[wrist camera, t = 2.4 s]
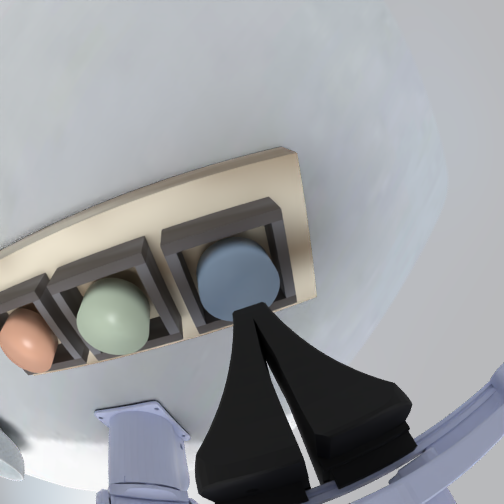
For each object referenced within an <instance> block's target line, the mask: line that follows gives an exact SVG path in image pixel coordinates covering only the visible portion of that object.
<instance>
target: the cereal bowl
mask: <svg viewBox="0 0 504 504" xmlns="http://www.w3.org/2000/svg"><path fill="white" fill-rule="evenodd" d="M0 477H3V478H6V479H10V480H13V481H23V479H24V460H23V457H22V454H21V452H20V451H19V449H18V447H17V446H16V445H15V443H14V442H13V441H12V440H11V439H10V438H9V437H8V436H7V435H6V434H5V433H4V432H3V430H2V429H1V428H0Z"/></svg>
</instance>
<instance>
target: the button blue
mask: <svg viewBox="0 0 504 504" xmlns="http://www.w3.org/2000/svg"><path fill="white" fill-rule="evenodd" d="M196 276H197V283H198V289H199V295H200V300H201V303H202V305H203V307H204V308H205V309H206V310H207V311H208V312H209V313H210V314H211V315H212V316H214V317H216V318H218V319H221V320H225V321H233V316H232V313H233V312H234V311H236V310H239V309H242V308H245V307H248V306H251V305H254V304H257V303H260V302H264V303H266V304H267V306H268V307H269V306H270V305H271V304H272V303H273V301H274V300H275V298H276V296H277V294H278V291H279V287H280V279H279V274H278V272H277V270H276V268H275V266H274V265H273V263H272V261H271V260H270V258H269V256H268V255H267V253H266V252H265V250H264V249H263V248H262V247H261V246H260V245H259V244H258V243H257V242H255V241H253V240H251V239H248V238H244V237H230V238H225V239H222V240H220V241H217V242H216V243H214V244H212V245H211V246H210V247H208V248H207V249H206V250H205V251H204V253H203V254H202V255H201V257H200V259H199V261H198V264H197V269H196Z"/></svg>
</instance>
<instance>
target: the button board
mask: <svg viewBox="0 0 504 504" xmlns="http://www.w3.org/2000/svg"><path fill="white" fill-rule="evenodd" d="M230 237H244V238H248V239H251V240H253V241H255V242H257V243H258V244H259V245H260V246H261V247H262V248H263V249H264V250H265V252H266V253H267V255H268V256H269V258H270V260H271V261H272V263H273V265H274V266H275V268H276V270H277V272H278V274H279V279H280V287H279V291H278V294H277V296H276V298H275V300H274V301H273V303H272V304H271V305H270V306H269V308H270V309H271V311H272V312H276V311H279V310H282V309H285V308H288V307H291V306H293V305H296V304H299V303H302V302H304V301H307V300H310V299H313V298H315V297H317V294H316V285H315V275H314V267H313V258H312V250H311V242H310V234H309V227H308V220H307V213H306V206H305V199H304V193H303V186H302V180H301V174H300V168H299V162H298V156H297V153H296V152H294V151H291V150H289V149H286V148H283V147H278V148H274V149H270V150H266V151H261V152H257V153H253V154H250V155H246V156H242V157H238V158H234V159H231V160H227V161H224V162H220V163H217V164H213V165H210V166H206V167H203V168H200V169H196V170H193V171H190V172H187V173H184V174H181V175H177V176H174V177H171V178H168V179H165V180H162V181H159V182H157V183H154V184H151V185H148V186H145V187H142V188H140V189H137V190H134V191H131V192H129V193H126V194H123V195H121V196H118V197H116V198H113V199H110V200H108V201H105V202H103V203H100V204H98V205H96V206H93V207H91V208H88V209H86V210H84V211H81V212H79V213H77V214H74V215H72V216H70V217H67V218H65V219H63V220H61V221H59V222H56V223H54V224H52V225H50V226H48V227H46V228H44V229H42V230H39V231H37V232H35V233H33V234H31V235H29V236H27V237H25V238H23V239H21V240H19V241H17V242H16V243H14V244H12V245H10V246H8V247H6V248H4V249H2V250H0V331H1V330H2V328H3V326H4V324H5V322H6V320H7V318H8V317H9V315H10V313H11V312H12V311H13V310H15V309H20V308H23V309H29V310H32V311H34V312H36V313H38V314H39V315H41V316H42V317H43V318H44V320H45V321H46V323H47V324H48V325H49V327H50V328H51V329H52V331H53V332H54V334H55V335H56V336H57V338H58V346H57V349H56V353H55V356H54V359H53V362H52V365H51V368H50V369H49V370H48V371H46V372H44V373H34V372H30V371H27V370H24V369H23V368H22V369H23V370H24V371H25V372H26V373H27V374H28V375H32V374H33V375H34V376H35V375H40V374H46V373H51V372H56V371H62V370H67V369H72V368H76V367H81V366H86V365H90V364H95V363H99V362H104V361H108V360H112V359H116V358H121V357H125V356H129V355H133V354H137V353H141V352H145V351H148V350H152V349H156V348H160V347H163V346H167V345H171V344H174V343H178V342H181V341H185V340H188V339H192V338H195V337H199V336H202V335H205V334H209V333H212V332H215V331H218V330H222V329H225V328H228V327H231V326H233V321H225V320H221V319H218V318H216V317H214V316H212V315H211V314H210V313H209V312H208V311H207V310H206V309H205V308H204V307H203V305H202V303H201V300H200V295H199V289H198V283H197V276H196V269H197V264H198V261H199V259H200V257H201V255H202V254H203V253H204V251H205V250H206V249H207V248H208V247H210V246H211V245H212V244H214V243H216V242H217V241H220V240H222V239H225V238H230ZM104 278H119V279H123V280H126V281H129V282H131V283H133V284H134V285H136V286H137V287H138V288H139V289H141V290H142V291H143V293H144V294H145V295H146V297H147V299H148V301H149V304H150V324H149V337H148V340H147V342H146V343H145V345H144V346H143V347H142V348H141V349H139V350H138V351H136V352H134V353H130V354H126V355H113V354H108V353H105V352H102V351H99V350H98V349H96V348H94V347H92V346H91V345H90V344H89V343H87V342H86V341H85V339H84V338H83V337H82V336H81V334H80V332H79V330H78V327H77V314H78V311H79V309H80V306H81V303H82V300H83V298H84V295H85V292H86V290H87V289H88V287H89V286H90V285H91V284H93V283H94V282H96V281H98V280H100V279H104Z"/></svg>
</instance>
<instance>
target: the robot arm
mask: <svg viewBox="0 0 504 504" xmlns="http://www.w3.org/2000/svg"><path fill="white" fill-rule="evenodd" d="M232 316H233V344H232V354H231V360H230V366H229V372H228V376H227V381H226V384H225V388H224V392H223V395H222V398H221V401H220V404H219V407H218V410H217V412H216V415H215V417H214V420H213V422H212V424H211V427H210V429H209V431H208V433H207V435H206V437H205V439H204V441H203V443H202V445H201V446H200V448H199V450H198V452H197V454H196V460H195V478H196V484H197V489H198V493H199V494H200V495H201V496H202V497H204V498H206V499H208V500H211V501H213V502H215V504H322V503H325V502H327V501H330V500H333V499H335V498H338V497H340V496H342V495H345V494H347V493H349V492H351V491H354V490H356V489H358V488H360V487H362V486H365V485H367V484H369V483H371V482H373V481H375V480H377V479H379V478H380V477H382V476H384V475H386V474H388V473H390V472H392V471H393V470H395V469H397V468H399V467H400V466H402V465H404V464H405V463H407V462H409V461H410V460H412V459H414V458H415V457H417V456H418V455H420V454H421V455H420V456H418V457H417V458H415V459H414V460H413V461H411V462H410V463H408V464H407V465H405V466H404V467H403V468H401V469H400V470H399V471H398V473H397V474H396V475H395V476H394V477H393V478H392V479H390V480H389V485H388V486H386V487H384V488H382V489H380V490H378V491H376V492H374V493H372V494H369V495H367V496H365V497H363V498H361V499H359V500H356V501H354V502H352V503H349V504H457V503H456V501H455V500H454V498H453V496H452V495H451V493H450V491H449V490H448V488H447V487H448V486H449V485H450V484H451V483H453V482H454V481H456V480H457V479H458V478H459V477H460V476H461V475H463V474H464V473H465V472H466V471H467V470H469V469H470V468H471V467H472V466H473V465H474V464H476V463H477V462H478V461H479V460H480V459H481V458H482V457H483V456H484V455H485V454H486V453H487V452H488V451H489V450H490V449H491V448H492V447H493V446H494V445H495V444H496V443H497V442H498V441H499V440H500V439H501V438H502V437H503V436H504V363H503V364H502V365H501V366H500V367H499V368H498V369H497V370H496V371H495V373H494V374H493V376H492V377H491V379H490V381H489V382H488V383H487V384H486V385H485V386H484V387H483V388H482V389H480V390H479V391H478V392H477V393H476V394H474V395H473V396H472V397H471V398H470V399H468V400H467V401H466V402H465V403H464V404H462V405H461V406H460V407H459V408H457V409H456V410H455V411H453V412H452V413H451V414H449V415H448V416H447V417H445V418H444V419H443V420H441V421H440V422H438V423H437V424H436V425H434V426H433V427H431V428H430V429H428V430H427V431H425V432H424V433H422V434H421V435H419V436H418V437H416V438H414V439H413V438H412V436H411V435H410V433H409V429H410V428H409V426H408V424H407V423H406V421H405V420H406V418H407V417H408V415H409V413H410V411H411V407H412V403H411V401H410V399H409V398H408V397H407V395H406V394H405V393H404V392H403V391H402V390H401V389H400V388H399V387H398V386H397V385H396V384H395V383H393V382H389V381H385V380H382V379H379V378H376V377H373V376H370V375H367V374H365V373H362V372H360V371H357V370H355V369H353V368H351V367H349V366H346V365H344V364H342V363H340V362H338V361H336V360H334V359H333V358H331V357H329V356H327V355H326V354H324V353H322V352H321V351H319V350H317V349H316V348H314V347H313V346H312V345H310V344H309V343H307V342H306V341H305V340H303V339H302V338H301V337H299V336H298V335H297V334H296V333H294V332H293V331H292V330H291V329H290V328H289V327H288V326H286V325H285V324H284V323H283V322H282V321H281V320H280V319H279V318H278V317H277V316H276V315H275V314H274V313H273V312H272V311H271V309H270V308H269V307H268V306H267V304H266V303H264V302H260V303H257V304H254V305H251V306H248V307H245V308H242V309H239V310H236V311H234V312H233V313H232ZM266 361H267V363H268V365H269V367H270V369H271V371H272V373H273V375H274V377H275V379H276V381H277V383H278V385H279V387H280V389H281V391H282V393H283V395H284V396H285V398H286V400H287V403H288V405H289V407H290V409H291V412H292V414H293V417H294V419H295V422H296V424H297V427H298V429H299V432H300V434H301V437H302V439H303V442H304V444H305V447H306V449H307V452H308V454H309V457H310V460H311V462H312V464H313V467H314V470H315V472H316V475H317V477H318V480H319V482H320V486H317V487H314V488H312V489H311V487H310V483H309V479H308V478H309V477H308V473H307V469H306V465H305V461H304V458H303V456H302V453H301V451H300V448H299V446H298V444H297V442H296V439H295V437H294V435H293V432H292V430H291V428H290V425H289V423H288V421H287V418H286V416H285V413H284V411H283V409H282V406H281V404H280V401H279V399H278V397H277V394H276V392H275V389H274V387H273V384H272V382H271V378H270V374H269V370H268V366H267V363H266ZM94 415H95V416H96V417H97V418H98V419H99V420H100V421H101V422H102V423H104V424H105V425H106V426H107V427H108V428H109V451H108V474H109V487H108V490H105V489H101V491H99V492H98V493H97V494H96V504H198V503H197V502H196V501H195V500H194V499H192V498H188V493H187V489H188V487H189V483H190V479H189V472H188V466H187V460H186V454H185V447H184V441H187V440H190V439H191V437H190V435H189V434H188V433H187V432H186V431H185V430H184V429H183V428H182V427H181V426H180V425H179V424H178V423H177V422H176V421H175V420H174V419H173V418H172V417H171V416H170V415H169V414H168V413H167V412H166V410H165V409H164V408H163V407H162V406H161V405H160V404H159V403H158V402H156V401H151V402H146V403H141V404H135V405H130V406H124V407H118V408H112V409H105V410H98V411H95V412H94Z"/></svg>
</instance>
